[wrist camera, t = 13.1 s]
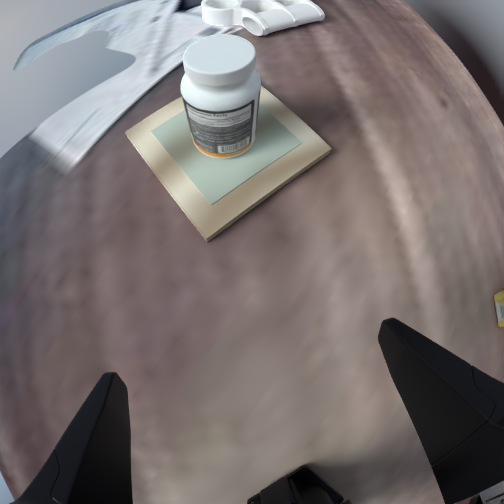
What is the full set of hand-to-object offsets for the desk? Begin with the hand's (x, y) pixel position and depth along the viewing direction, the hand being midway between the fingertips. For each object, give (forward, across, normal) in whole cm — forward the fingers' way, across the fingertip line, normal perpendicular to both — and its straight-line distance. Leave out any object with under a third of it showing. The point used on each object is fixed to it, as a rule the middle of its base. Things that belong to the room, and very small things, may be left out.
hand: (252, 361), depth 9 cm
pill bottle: (+21, -1, -3) cm, 21 cm away
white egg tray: (+40, -11, -20) cm, 46 cm away
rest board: (+22, -1, -3) cm, 22 cm away
